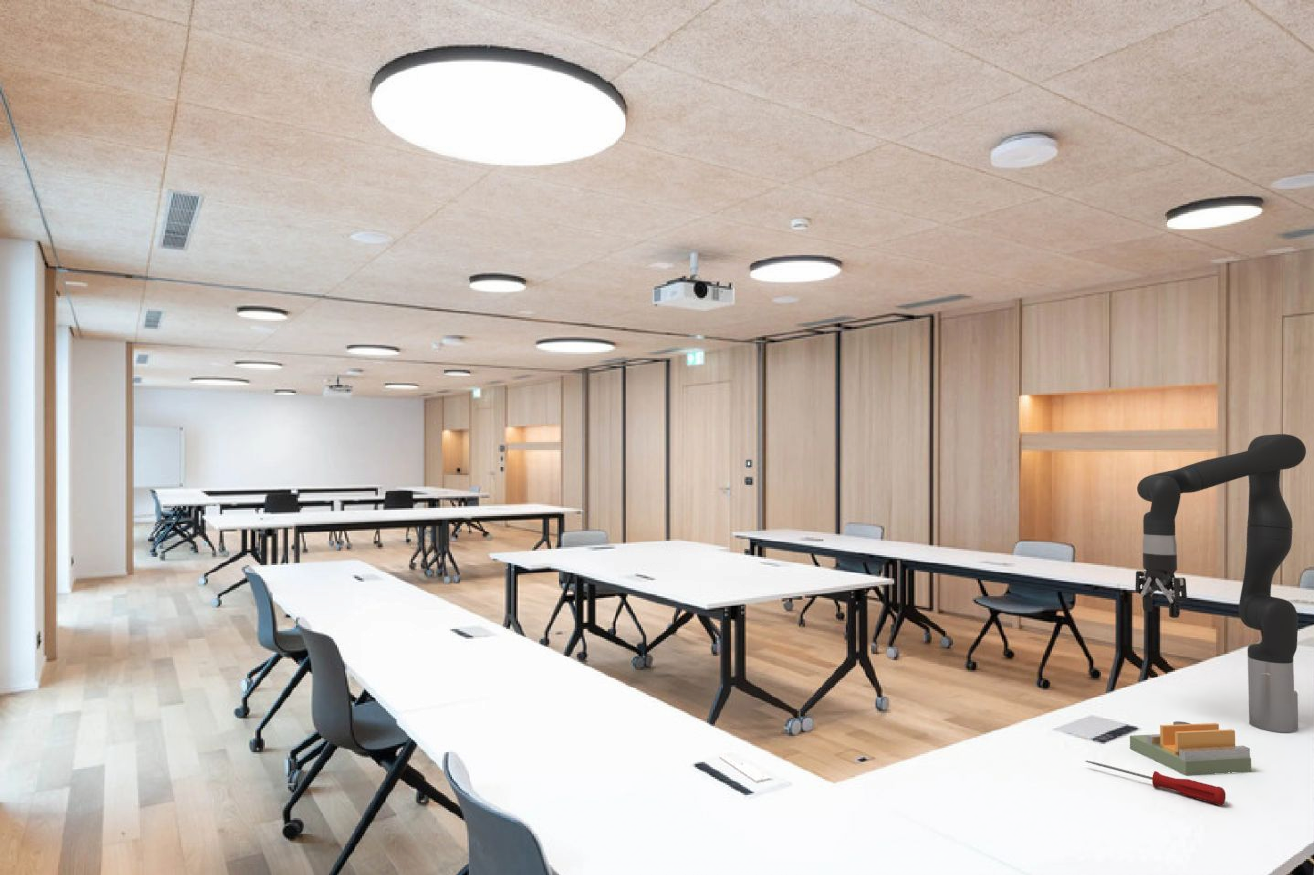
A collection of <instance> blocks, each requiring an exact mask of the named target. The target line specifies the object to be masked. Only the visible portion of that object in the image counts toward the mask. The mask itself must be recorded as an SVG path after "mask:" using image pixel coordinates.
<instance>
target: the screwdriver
mask: <svg viewBox="0 0 1314 875" xmlns="http://www.w3.org/2000/svg"><path fill="white" fill-rule="evenodd" d="M1084 762H1085V763H1088V764H1092V765H1095V766H1099V767H1103V768H1107V769H1111V770H1115V771H1117V772H1122V773H1125V774H1129V775H1133V776H1136V777H1140V778H1143V779H1144V778H1145V779H1148V780H1152V781H1151V782H1152V787H1153V788H1157V789H1158V788H1164V789H1169V790H1172V791H1175V792H1177V793H1179V794H1182V795H1183V796H1186V797H1189V798H1192V799H1196V800H1200V801H1203V802H1207V803H1211V804H1213V805H1217V806H1219V805H1221V806H1224V805H1225V803H1226V795H1227V794H1226V791H1225V789H1224V788H1223V787H1222V786H1215V785H1212V784H1209V783H1203V782H1200V781H1196V780H1193V779H1188V778H1175V777H1171V776H1167V775H1163V774H1162V773H1159V772H1160V771H1159V772H1158V771H1157V770H1154V771H1153V772H1152V776H1150V775H1146V774H1141V773H1138V772H1133V771H1131V770H1127V769H1123V768H1118V767H1114V766H1111V765H1107V764H1104V763H1100V762H1095V761H1091V760H1085V761H1084Z"/></svg>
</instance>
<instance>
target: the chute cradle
mask: <svg viewBox="0 0 1314 875" xmlns="http://www.w3.org/2000/svg"><path fill="white" fill-rule="evenodd" d="M1146 735H1147V744H1149V745H1151V746H1160V733H1157V734H1155V733H1154V734H1146ZM1250 749H1251V748H1250V747H1247V746H1246V745H1235V746H1230V747H1211V748H1191V749H1179V759H1181V760H1184V761H1196V760H1214V759H1232V758H1251V750H1250Z"/></svg>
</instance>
